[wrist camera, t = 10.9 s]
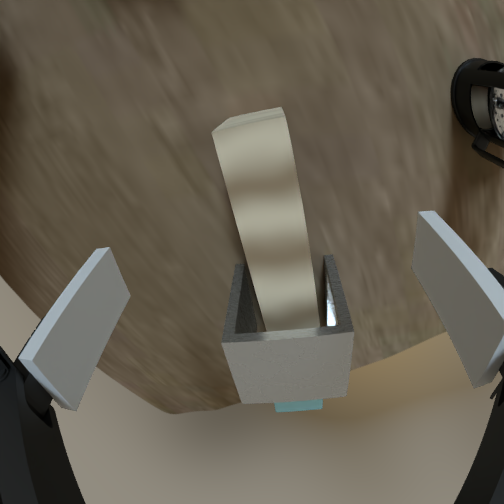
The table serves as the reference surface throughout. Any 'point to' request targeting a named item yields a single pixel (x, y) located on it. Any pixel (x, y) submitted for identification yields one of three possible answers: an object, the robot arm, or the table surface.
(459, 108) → the french press
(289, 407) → the block
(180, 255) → the table surface
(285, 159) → the bar
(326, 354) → the grey open box
